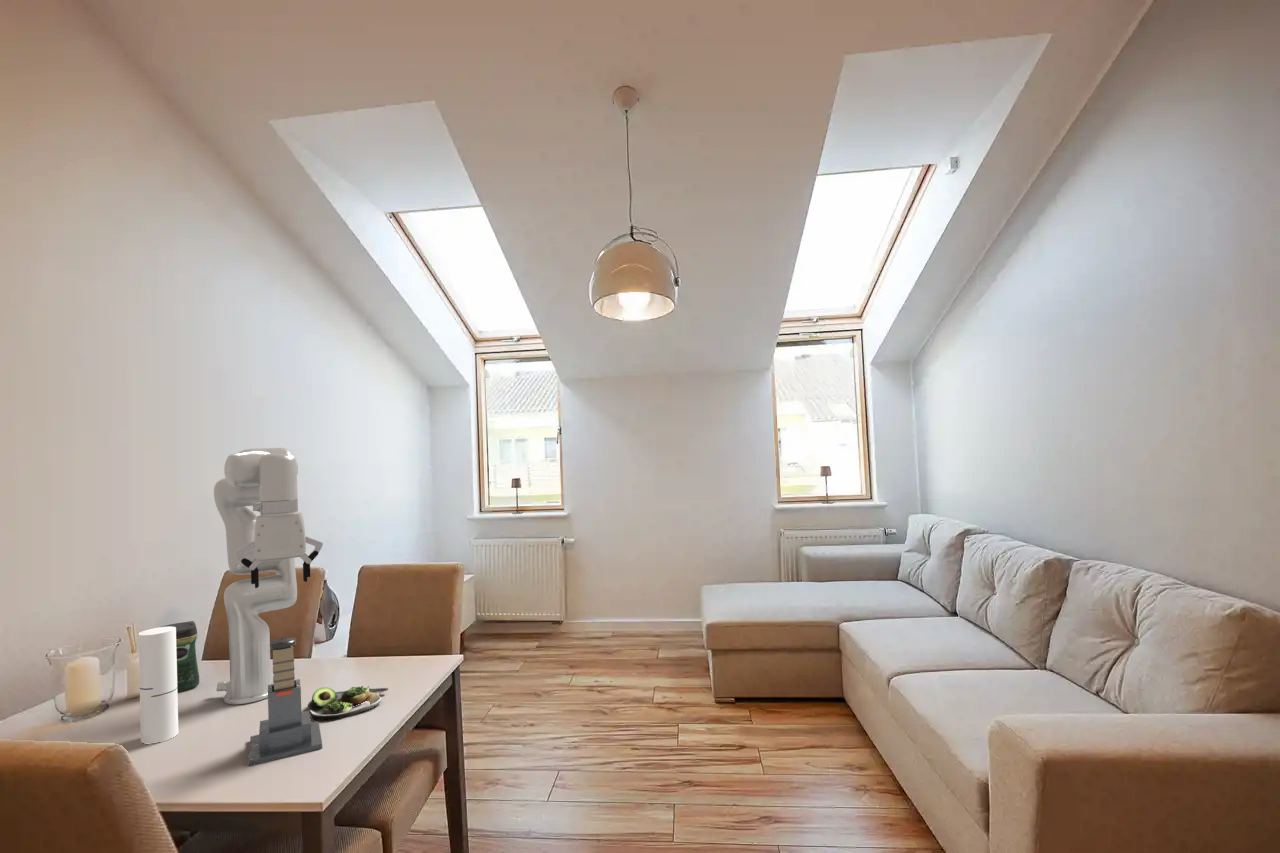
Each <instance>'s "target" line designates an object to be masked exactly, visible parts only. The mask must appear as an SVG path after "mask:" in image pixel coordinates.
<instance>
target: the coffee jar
mask: <svg viewBox="0 0 1280 853" xmlns="http://www.w3.org/2000/svg"><path fill="white" fill-rule="evenodd" d="M196 625H197V624H196V623H195V621H193V620H191V621H185V622H177V623H171V624H167V625H161V626H160V627H169V626H172V627H176V653H177V693H179V692H184V691H187V690H188V691H189V690H191V689H193V688H196V687H197V686H199V685H200V673H199V666H198V660H197V654H196V652H197V651H196V650H197V649H196V642H197V640H198V636H199V635H198V628H197V626H196Z"/></svg>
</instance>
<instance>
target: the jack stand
mask: <svg viewBox="0 0 1280 853" xmlns="http://www.w3.org/2000/svg"><path fill="white" fill-rule="evenodd" d="M267 710H268V712H267V713H268V718H267V719H263V720H260V721H259V730H258V732H259V734H256V735H251V736H250V738H249V750H248V767H250V765H251V766H254V764H255V765H259V764H263V763H267V761H268V762H271V761H275V760H279V759H283V758H288V757H292V756H296V755H300V754H304V753H309V752H314V751H316V750H320V749H323V740H322V739H323V738H322V734H321V727H320V723H319V722H320V721H314V722H311V715H310V713H309V711H308V710H305V711H302V689H301V679H294V688H291V689H285V690H280V691H275V692H274V683H273V684H272V685H268V698H267ZM262 762H263V763H262ZM258 763H259V764H258Z"/></svg>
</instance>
